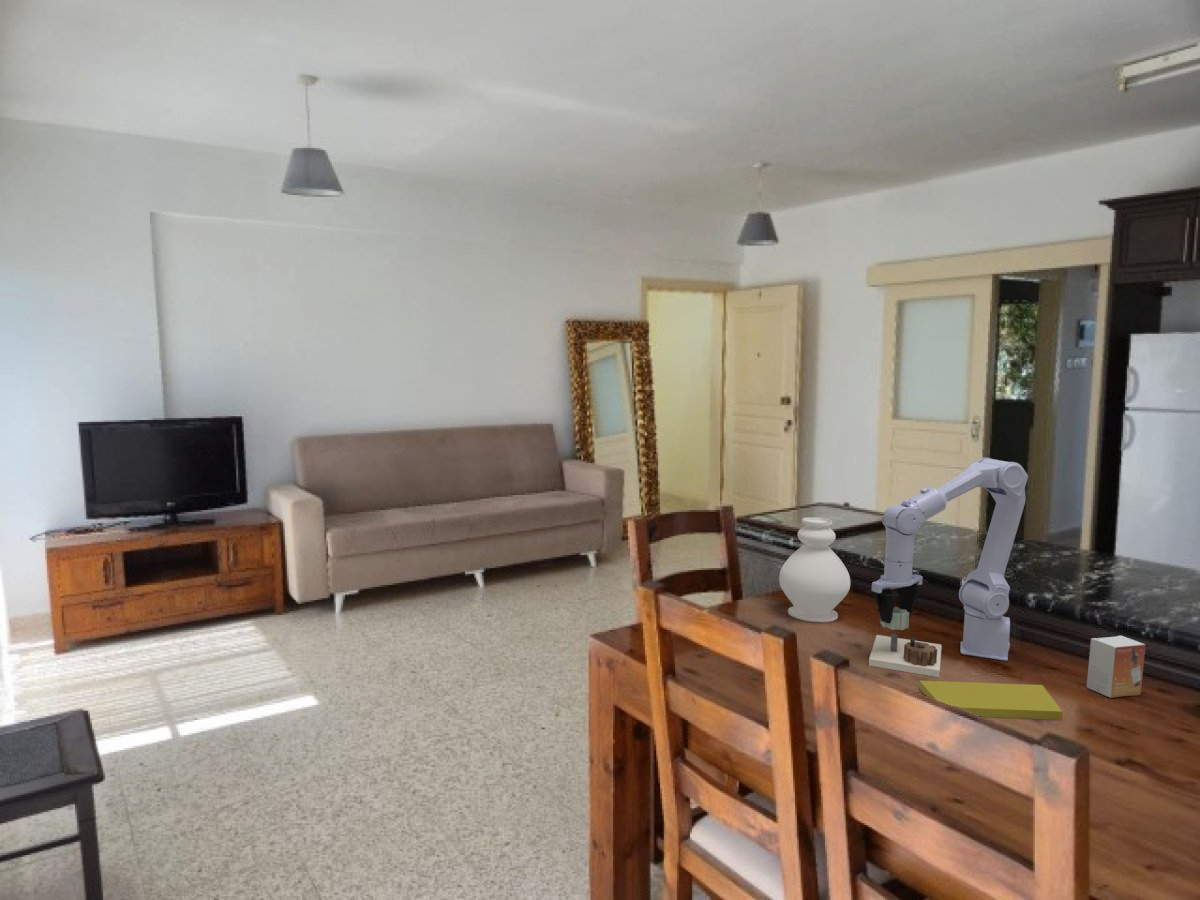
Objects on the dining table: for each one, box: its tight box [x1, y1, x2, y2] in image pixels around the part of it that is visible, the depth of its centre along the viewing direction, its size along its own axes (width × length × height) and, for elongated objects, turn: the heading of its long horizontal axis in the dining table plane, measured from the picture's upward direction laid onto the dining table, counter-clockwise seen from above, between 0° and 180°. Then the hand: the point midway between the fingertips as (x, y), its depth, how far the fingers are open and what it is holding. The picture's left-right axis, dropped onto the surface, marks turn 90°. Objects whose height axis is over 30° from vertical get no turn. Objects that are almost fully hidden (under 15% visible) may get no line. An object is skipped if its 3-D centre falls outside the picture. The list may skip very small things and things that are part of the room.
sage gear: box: [879, 606, 910, 631], centre depth 172 cm, size 6×6×3 cm
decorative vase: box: [778, 516, 851, 623], centre depth 201 cm, size 18×18×25 cm
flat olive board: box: [918, 680, 1063, 721], centre depth 149 cm, size 12×2×24 cm
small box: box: [1086, 635, 1146, 699], centre depth 156 cm, size 8×6×10 cm
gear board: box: [868, 632, 942, 678], centre depth 172 cm, size 14×17×6 cm
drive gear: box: [904, 637, 937, 666], centre depth 167 cm, size 6×6×4 cm
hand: (895, 619), depth 172 cm, fingers closed on sage gear, 6 cm apart
